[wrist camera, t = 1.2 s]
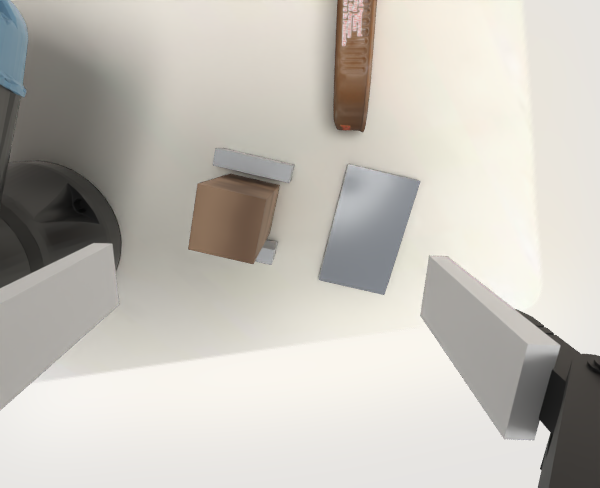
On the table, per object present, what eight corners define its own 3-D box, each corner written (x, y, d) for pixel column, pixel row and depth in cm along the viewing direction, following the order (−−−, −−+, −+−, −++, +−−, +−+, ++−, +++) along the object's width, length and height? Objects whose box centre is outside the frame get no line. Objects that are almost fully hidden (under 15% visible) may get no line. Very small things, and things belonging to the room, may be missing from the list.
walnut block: (222, 222, 36) (188, 249, 26) (230, 173, 35) (197, 183, 25) (269, 232, 36) (253, 264, 26) (279, 185, 35) (266, 199, 25)
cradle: (209, 240, 36) (199, 248, 34) (224, 148, 34) (215, 148, 31) (274, 255, 37) (271, 264, 34) (294, 164, 34) (292, 166, 31)
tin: (360, 133, 33) (375, 129, 25) (327, 133, 33) (331, 128, 25) (374, -56, 29) (397, -135, 21) (336, -57, 29) (345, -135, 21)
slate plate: (318, 277, 37) (318, 279, 36) (347, 163, 34) (348, 164, 33) (382, 291, 37) (384, 294, 36) (418, 180, 34) (420, 181, 33)
